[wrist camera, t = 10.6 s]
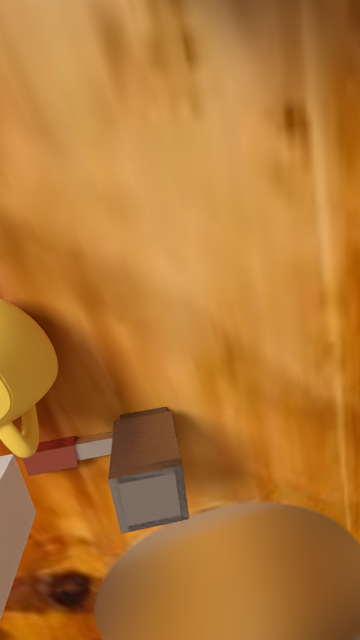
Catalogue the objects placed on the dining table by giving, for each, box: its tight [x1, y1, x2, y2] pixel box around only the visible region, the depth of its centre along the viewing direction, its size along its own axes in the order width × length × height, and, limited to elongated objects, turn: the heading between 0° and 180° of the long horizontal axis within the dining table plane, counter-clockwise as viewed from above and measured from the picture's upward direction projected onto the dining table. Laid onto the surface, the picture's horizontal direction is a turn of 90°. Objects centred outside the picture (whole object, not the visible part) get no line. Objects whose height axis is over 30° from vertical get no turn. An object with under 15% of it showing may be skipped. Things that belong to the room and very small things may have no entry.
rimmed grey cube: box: [108, 411, 189, 534], centre depth 35 cm, size 7×7×9 cm
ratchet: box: [23, 407, 167, 476], centre depth 37 cm, size 7×18×6 cm, turn 97°
